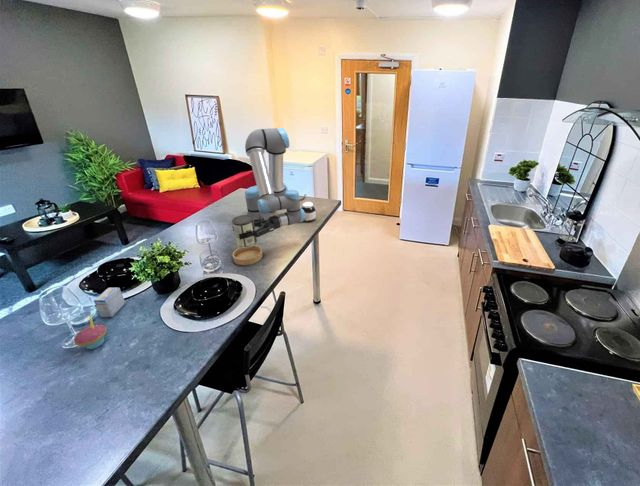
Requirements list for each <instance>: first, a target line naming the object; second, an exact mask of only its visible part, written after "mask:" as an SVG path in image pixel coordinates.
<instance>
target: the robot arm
mask: <svg viewBox="0 0 640 486" xmlns="http://www.w3.org/2000/svg"><path fill="white" fill-rule="evenodd" d="M244 145H245V146H244V148H245V149H244V150H245V154H246V156H247V157H249V162H250V164H251V168H252V173H253V177H254V180H255V185H253V186H250V187H247V189H245V191H244V199H245V203H246V209H247V212H246V215H251V216H253V218H254V226H255V230H253V231H249V232H246V233H242V234H239V238H240V240H241V239H244V238H248V237H251V236H256V238H259V237H262V236H264V235H266V234H268V233H271V232H274V230H277V229H280V228H285V227H288V226H292V225H295V224H299V223H302V222H305V221H304V220H305V212H304V210H303V209H301V205H300V204H301V201H303V200H305V198H306V196H307V194H304V197H305V198H304V197H303V198H300V194H299V191H298V190H296V189H289V188H288V186H287V185H286V184H285V183H284V154H285V153H286V151H287V149H289V148H290V140H289V136H288V132H287V131H286V129H285V128H283V127H274V128H258V129H254V130H252V131H251V132H250V133H249V134H248V136H247V138H246V141H245V144H244ZM265 152H266V153H267V154H268V167H267V163H266V159H265V155H264V154H265ZM282 210H286V212H281V213H277V214H274V215H270V214H273V213H275V212H277V211H282ZM256 227H258V228H257V229H256ZM232 231H233V232H234V228H233V225H232Z"/></svg>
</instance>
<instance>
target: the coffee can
mask: <svg viewBox="0 0 640 486" xmlns="http://www.w3.org/2000/svg"><path fill="white" fill-rule="evenodd" d="M231 223H232V226H233V227H232V229H233V228H234V231H233V233H234V238H235V243H236V246H237V248H248V247H251V246H254V245H256V244H258V239H257V238H258V237H256V236H251V237H248V238H244V239H241V240H240V238H239V234H242V233H246V232H249V231H253V230H256V227H255V226H254V218H253V216H251V215H247V214H242V215H241V214H240V215H237V216H235V217H233V218H232V219H231Z"/></svg>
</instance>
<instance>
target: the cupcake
mask: <svg viewBox="0 0 640 486" xmlns="http://www.w3.org/2000/svg"><path fill="white" fill-rule="evenodd" d="M88 319H89V323H90V324H89V325H88V326H86V327H84V328H83V329H81V330H79V332H77V333H76V335H75V336H74V338H73V343H74V345H76V346H79V347H84V348H86V349H87V350H94V349H97V348H99V347H101V346H102V345H103V344H104V342H105V336H106V335H107V332H108V329H107V326H106V325H105V324H102V323H97V324H96V323H95V324H94V322H93V316H92V315H91V314H90V315H89V318H88Z"/></svg>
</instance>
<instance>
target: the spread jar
mask: <svg viewBox="0 0 640 486" xmlns="http://www.w3.org/2000/svg"><path fill="white" fill-rule="evenodd" d="M300 209H303V210H304V212H305V220H304V221H303V222H307V223H309V222H312V221H314V220H315V219H316V218H317V210H316V208H315V206H314V203H313V202H311V201H305V202H303V203H302V207H300Z"/></svg>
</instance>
